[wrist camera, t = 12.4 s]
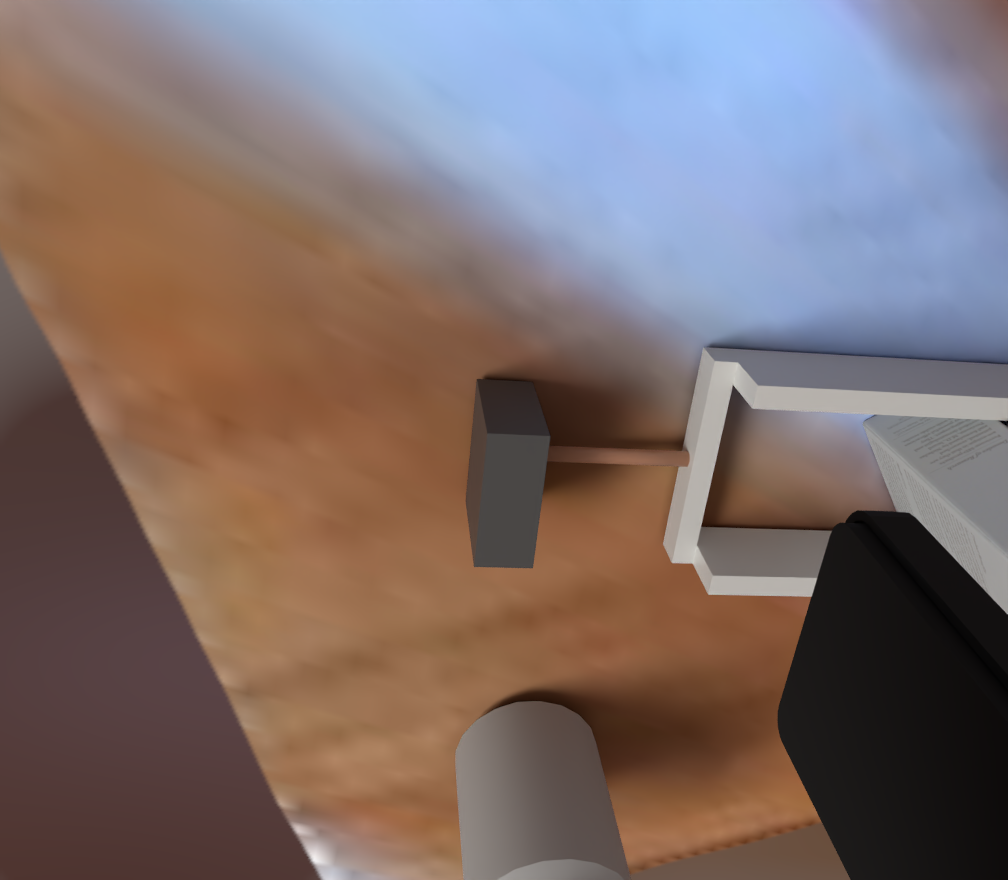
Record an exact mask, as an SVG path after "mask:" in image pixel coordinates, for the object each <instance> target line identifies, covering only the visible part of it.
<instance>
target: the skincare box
mask: <svg viewBox="0 0 1008 880" xmlns="http://www.w3.org/2000/svg"><path fill="white" fill-rule="evenodd" d="M863 426H864V429H865V431H866V434H867V436H868V439H869V442H870V444H871V447H872V450H873V452H874V455H875V457H876V460H877V462H878V465H879V468H880V470H881V473H882V475H883V478H884V480H885V483H886V486H887V488H888V491H889V493H890V496H891V498H892V501H893V503H894V506H895V509H896V511H897V512H906V513H910V514H911V515H913V516H914V517H916V518H917V519H918V521H919V522H920V523H921V524H922V525H923V526H924V527H925V528H926V529H927V530H928V531H929V532H930V533H931V534H932V535H933V536H934V537H935V538H936V540H937V541H938V542H939V543H940V544H941V545H942V546H943V547H944V548H945V549H946V550H947V551H948V552H949V553H950V554H951V555H952V556H953V557H954V559H955V560H956V561H957V562H958V563H959V564H960V565H961V566H962V567H963V568H964V569H965V570H966V571H967V572H968V573H969V574H970V575H971V576H972V577H973V579H974V580H975V581H976V582H977V583H978V584H979V585H980V586H981V587H982V588H983V589H984V590H985V591H986V592H987V593H988V594H989V595H990V596H991V598H992V599H993V600H994V601H995V602H996V603H997V604H998V605H999V606H1000V607H1001V608H1002V609H1003V610H1004V611H1005V612H1006V613H1007V614H1008V427H1007V426H1005V425H1004V424H1002V423H1001V422H999V421H998V420H979V419H958V418H937V417H916V416H895V415H875V416H873V417H871V418H869V419H867V420H865V421H864V422H863Z"/></svg>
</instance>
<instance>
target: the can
mask: <svg viewBox="0 0 1008 880" xmlns="http://www.w3.org/2000/svg"><path fill="white" fill-rule="evenodd" d="M456 781H457V795H458V808H459V822H460V836H461V850H462V864H463V878H464V880H631V877H630V873H629V869H628V865H627V862H626V858H625V854H624V850H623V846H622V842H621V838H620V834H619V830H618V826H617V823H616V819H615V815H614V811H613V807H612V803H611V799H610V795H609V791H608V787H607V784H606V780H605V776H604V772H603V768H602V764H601V760H600V756H599V752H598V748H597V745H596V741H595V738H594V735H593V733H592V730H591V727H590V726H589V725H588V724H587V723H586V722H585V721H584V720H583V719H582V717H581V716H580V715H579V714H577V713H575V712H573V711H571V710H569V709H567V708H565V707H564V706H562V705H557V704H552V703H547V702H542V701H524V702H515V703H512V704H508V705H505V706H502V707H499V708H497V709H494V710H493V711H491V712H489V713H488V714H486V715H484V716H483V717H481V718H479V719H478V720H476V721H475V722H474V723H473V724H472V725H471V727H470V728H469V729H468V730H467V731H466V732H465V733H464V734H463V735H462V738H461V740H460V742H459V745H458V747H457V749H456Z"/></svg>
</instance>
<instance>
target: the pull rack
mask: <svg viewBox="0 0 1008 880" xmlns="http://www.w3.org/2000/svg"><path fill="white" fill-rule="evenodd" d="M733 385H734V387H735V388H736V389H737V390H738V391H739V393H740V394H741V395H742V396H743V398H744V399H745V400H746V401H747V403H748V404H749V405H750V406H751V407H752V409H770V410H791V411H812V412H832V413H853V414H874V415H895V416H916V417H937V418H958V419H979V420H1000V421H1008V365H1007V364H990V363H972V362H955V361H937V360H919V359H902V358H884V357H867V356H849V355H831V354H814V353H796V352H779V351H761V350H743V349H726V348H708V347H703V352H702V357H701V362H700V366H699V371H698V376H697V381H696V386H695V391H694V396H693V401H692V405H691V410H690V415H689V420H688V425H687V430H686V435H685V439H684V444H683V449H682V451H671V450H647V449H622V448H598V447H574V446H549V443H550V433H549V430H548V427H547V424H546V421H545V418H544V415H543V412H542V409H541V406H540V403H539V400H538V397H537V394H536V391H535V388H534V385H533V382H526V381H506V380H486V379H477V382H476V393H475V404H474V415H473V426H472V437H471V448H470V459H469V470H468V481H467V492H466V508H467V515H468V523H469V531H470V539H471V547H472V555H473V563H474V567H504V568H533V563H534V555H535V548H536V540H537V533H538V525H539V518H540V510H541V503H542V495H543V488H544V480H545V473H546V465H547V462H573V463H599V464H625V465H651V466H677V467H679V469H678V474H677V478H676V483H675V488H674V493H673V498H672V503H671V508H670V513H669V517H668V522H667V527H666V532H665V537H664V542H663V545H664V547H665V549H666V551H667V553H668V556H669V558H670V560H671V562H672V563H693V565H694V567H695V569H696V571H697V573H698V575H699V577H700V579H701V581H702V583H703V585H704V587H705V589H706V591H707V593H708V595H759V596H811V597H812V594H813V590H814V587H815V584H816V580H817V577H818V574H819V570H820V567H821V564H822V560H823V557H824V554H825V550H826V547H827V544H828V540H829V537H830V534H831V532H832V531H820V530H786V529H752V528H718V527H701V525H702V520H703V516H704V511H705V507H706V502H707V498H708V494H709V489H710V485H711V480H712V476H713V471H714V467H715V462H716V458H717V453H718V449H719V445H720V440H721V436H722V431H723V427H724V422H725V418H726V413H727V409H728V405H729V400H730V396H731V391H732V387H733ZM1007 427H1008V425H1007Z"/></svg>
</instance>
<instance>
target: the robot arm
mask: <svg viewBox="0 0 1008 880" xmlns="http://www.w3.org/2000/svg"><path fill="white" fill-rule="evenodd" d="M778 729H779V734H780V738H781V740H782V743H783V745H784V747H785V749H786V751H787V753H788V755H789V757H790V759H791V761H792V763H793V765H794V767H795V769H796V771H797V773H798V775H799V777H800V779H801V781H802V783H803V785H804V787H805V789H806V791H807V793H808V795H809V797H810V799H811V801H812V803H813V805H814V807H815V809H816V811H817V813H818V815H819V817H820V819H821V821H822V823H823V825H824V827H825V829H826V831H827V833H828V835H829V837H830V839H831V841H832V843H833V845H834V847H835V849H836V851H837V853H838V855H839V857H840V859H841V861H842V863H843V865H844V867H845V869H846V871H847V873H848V875H849V877H850V879H851V880H1008V614H1007V613H1006V612H1005V611H1004V610H1003V609H1002V608H1001V607H1000V606H999V605H998V604H997V603H996V602H995V601H994V600H993V599H992V598H991V596H990V595H989V594H988V593H987V592H986V591H985V590H984V589H983V588H982V587H981V586H980V585H979V584H978V583H977V582H976V581H975V580H974V579H973V577H972V576H971V575H970V574H969V573H968V572H967V571H966V570H965V569H964V568H963V567H962V566H961V565H960V564H959V563H958V562H957V561H956V560H955V559H954V557H953V556H952V555H951V554H950V553H949V552H948V551H947V550H946V549H945V548H944V547H943V546H942V545H941V544H940V543H939V542H938V541H937V540H936V538H935V537H934V536H933V535H932V534H931V533H930V532H929V531H928V530H927V529H926V528H925V527H924V526H923V525H922V524H921V523H920V522H919V521H918V519H917V518H916V517H914V516H913V515H911V514H910V513H906V512H888V511H856V512H854V513H852V514H851V515H850V516H849V517H848V519H847V520H846V523H839V524H837V525H836V526H835V527H834V528H833V529H832V532H831V534H830V537H829V540H828V544H827V547H826V550H825V554H824V557H823V560H822V564H821V567H820V570H819V574H818V577H817V580H816V584H815V587H814V590H813V594H812V597H811V600H810V604H809V607H808V611H807V614H806V617H805V621H804V624H803V627H802V631H801V634H800V637H799V641H798V644H797V647H796V651H795V654H794V657H793V661H792V664H791V667H790V671H789V674H788V677H787V681H786V684H785V688H784V691H783V694H782V698H781V701H780V704H779V709H778Z"/></svg>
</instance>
